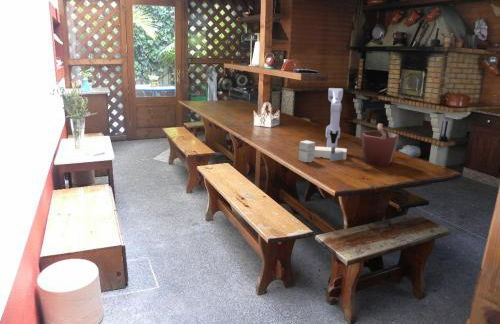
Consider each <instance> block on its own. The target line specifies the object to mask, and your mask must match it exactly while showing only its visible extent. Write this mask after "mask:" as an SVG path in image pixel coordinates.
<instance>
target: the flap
mask: <svg viewBox="0 0 500 324" xmlns="http://www.w3.org/2000/svg"><path fill="white" fill-rule="evenodd" d="M341 160H344V159H343V151H342V152H336V153H335V147H331V153H330V158H329V162H335V161H341Z"/></svg>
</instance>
